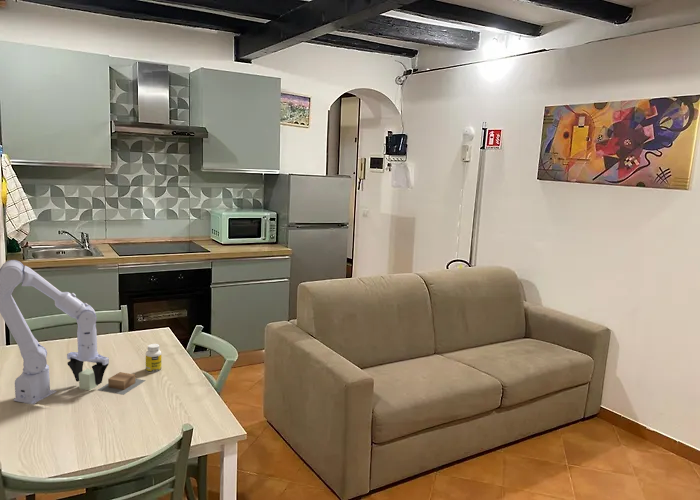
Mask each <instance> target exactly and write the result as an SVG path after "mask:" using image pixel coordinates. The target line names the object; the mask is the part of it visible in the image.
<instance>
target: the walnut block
mask: <svg viewBox="0 0 700 500" xmlns="http://www.w3.org/2000/svg"><path fill="white" fill-rule="evenodd" d="M107 379H108V381H107V382H108V383H107V384H108V387H110V388H116V389H121V390H125V389H127V388H128V387H130V386H131V385H133V384H135V379H136V374H133V373H128V372H121V371H120V372H118V373H116V374H114V375H112V376H111V377H109V378H107Z"/></svg>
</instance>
